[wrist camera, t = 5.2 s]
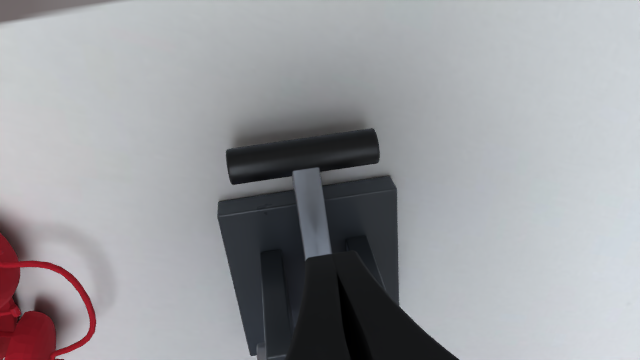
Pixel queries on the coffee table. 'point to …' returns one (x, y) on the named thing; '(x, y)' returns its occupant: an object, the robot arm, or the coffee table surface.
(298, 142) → the lever
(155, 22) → the coffee table surface
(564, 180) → the coffee table surface
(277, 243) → the bracket
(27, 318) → the alarm clock
